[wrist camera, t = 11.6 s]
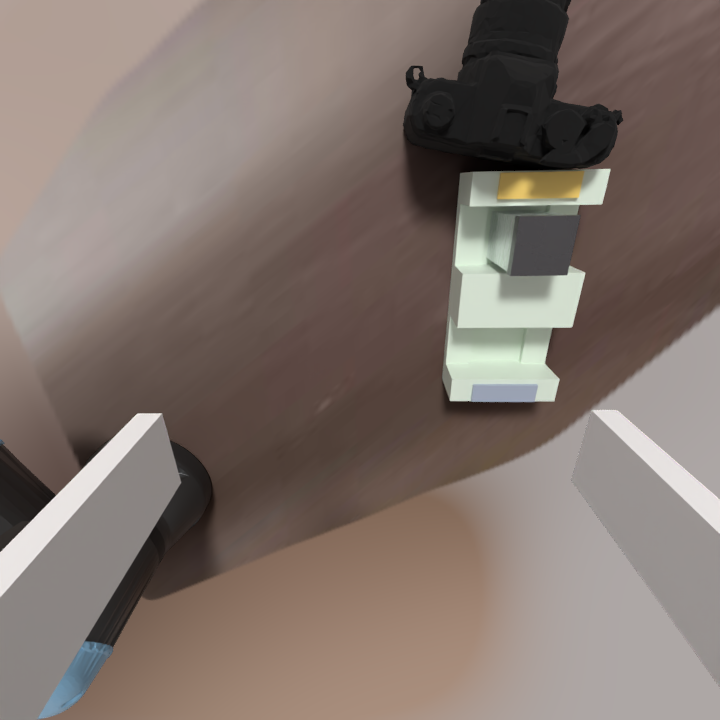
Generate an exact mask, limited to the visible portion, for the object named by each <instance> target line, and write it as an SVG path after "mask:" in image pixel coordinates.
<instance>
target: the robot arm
mask: <svg viewBox="0 0 720 720" xmlns="http://www.w3.org/2000/svg"><path fill="white" fill-rule="evenodd" d="M3 444H4V442H3V441H2V440H1V439H0V720H37V719H42V718H47V717H51V716H54V715H57V714H59V713H61V712H63V711H65V710H67V709H68V708H70V707H71V706H72V705H74V704H75V703H76V702H77V701H78V700H79V699H80V698H81V697H82V696H83V695H84V694H85V692H86V691H87V689H88V687H89V686H90V684H91V683H92V681H93V680H94V678H95V676H96V675H97V673H98V672H99V670H100V669H101V667H102V666H103V664H104V662H105V661H106V659H107V658H109V657H110V655H111V654H112V652H113V646H114V645H115V643H116V641H117V639H118V637H119V635H120V634H121V632H122V630H123V628H124V627H125V625H126V623H127V621H128V619H129V618H130V616H131V614H132V612H133V610H134V608H135V607H136V605H137V603H138V601H139V599H140V598H141V596H142V594H143V592H144V590H145V589H146V587H147V585H148V583H149V581H150V580H151V578H152V576H153V574H154V572H155V571H156V569H157V567H158V565H159V563H160V562H161V560H162V558H163V556H164V554H165V553H166V552H167V551H168V550H169V549H170V548H171V547H172V546H173V545H174V544H175V543H176V542H177V541H178V540H179V539H180V538H181V537H182V536H183V535H184V534H185V533H186V532H187V531H188V530H189V529H190V528H191V527H193V526H194V525H195V524H196V523H197V522H198V521H199V519H200V518H201V517H202V515H203V513H204V511H205V509H206V507H207V505H208V503H209V501H210V498H211V492H212V488H211V482H210V478H209V476H208V474H207V472H206V470H205V468H204V467H203V466H202V464H201V463H200V462H199V461H198V460H197V459H196V458H195V457H194V456H193V455H192V454H191V453H190V452H188V451H187V450H186V449H184V448H183V447H181V446H179V445H178V444H176V443H174V442H172V441H170V440H169V437H168V433H167V429H166V426H165V422H164V418H163V415H162V413H159V414H136V415H135V416H134V417H133V418H132V419H131V421H130V422H129V423H128V424H127V425H126V426H125V427H124V428H123V429H122V430H121V431H120V432H119V433H118V434H117V435H116V436H115V437H114V438H112V439H111V440H109V441H107V442H106V443H104V444H103V445H102V446H101V447H100V448H99V449H98V450H97V451H96V452H95V453H94V454H93V455H92V456H91V457H90V458H89V460H88V461H87V462H86V464H85V466H84V468H83V469H82V470H81V471H80V472H79V473H78V474H77V475H76V476H75V477H74V478H73V479H72V480H71V481H70V482H69V483H68V484H67V485H66V486H65V488H63V489H62V490H61V491H60V492H59V493H58V494H57V495H55V494H54V493H53V492H52V491H51V490H50V489H49V488H48V487H46V486H45V485H44V484H43V483H42V482H41V481H40V480H39V479H38V478H37V477H36V476H34V474H33V473H32V472H31V471H30V470H29V469H27V468H26V467H25V466H24V465H23V464H22V463H21V462H20V461H19V460H18V459H17V458H16V457H15V456H14V455H13V454H12V453H11V452H10V451H9V450H8V449H7V448H6V447H5V446H4V445H3ZM571 481H572V482H573V483H574V485H575V486H576V487H577V489H578V490H579V492H580V493H581V495H582V496H583V497H584V499H585V500H586V502H587V503H588V504H589V506H590V507H591V508H592V510H593V511H594V513H595V514H596V516H597V517H598V518H599V520H600V521H601V523H602V524H603V525H604V526H605V528H606V529H607V531H608V532H609V534H610V535H611V536H612V538H613V539H614V541H615V542H616V543H617V545H618V546H619V548H620V549H621V550H622V552H623V553H624V555H625V556H626V557H627V559H628V560H629V562H630V563H631V564H632V566H633V567H634V569H635V570H636V571H637V573H638V574H639V576H640V577H641V578H642V580H643V581H644V582H645V584H646V585H647V587H648V588H649V589H650V591H651V592H652V594H653V595H654V596H655V598H656V599H657V600H658V602H659V603H660V605H661V606H662V608H663V609H664V610H665V612H666V613H667V614H668V616H669V617H670V618H671V620H672V621H673V623H674V624H675V626H676V627H677V628H678V630H679V631H680V633H681V634H682V635H683V637H684V638H685V640H686V641H687V642H688V644H689V645H690V647H691V648H692V649H693V651H694V652H695V654H696V655H697V656H698V658H699V659H700V661H701V662H702V663H703V665H704V666H705V667H706V669H707V670H708V672H709V673H710V674H711V676H712V677H713V679H714V680H715V681H716V683H717V684H718V686H719V687H720V499H718V498H717V497H716V496H715V495H714V494H713V493H712V492H711V491H709V490H708V489H707V488H706V487H705V486H704V485H703V484H701V483H700V482H699V481H698V480H697V479H696V478H694V477H693V476H692V475H691V474H690V473H689V472H687V471H686V470H685V469H684V468H683V467H682V466H681V465H680V464H678V463H677V462H676V461H675V460H674V459H672V457H670V456H669V455H668V454H667V453H666V452H665V451H663V450H662V449H661V448H660V447H659V446H658V445H656V444H655V443H654V442H653V441H652V440H651V439H650V438H648V437H647V436H646V435H645V434H644V433H643V432H642V431H640V430H639V429H638V428H637V427H636V426H635V425H633V424H632V423H631V422H630V421H629V420H628V419H627V418H625V417H624V416H623V415H622V414H621V413H620V412H619V411H617V410H591V414H590V417H589V421H588V424H587V427H586V431H585V435H584V438H583V441H582V444H581V448H580V451H579V455H578V458H577V461H576V465H575V468H574V471H573V475H572V478H571Z"/></svg>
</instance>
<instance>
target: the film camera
mask: <svg viewBox="0 0 720 720" xmlns="http://www.w3.org/2000/svg"><path fill="white" fill-rule="evenodd" d="M570 2H571V0H481V4H480V6H478V7H477V9H476V11H475V13H474V15H473V20H472V25H471V31H470V36H469V40H468V46H467V47H466V48H465V50H464V53H463V58H462V64H463V68H462V70H461V71H460V72H459V73H458V79H457V81H455V80H447V79H444V78H437V79H432V78H430V79H427V78H425V77H424V72H423V66H411V67H410V68H409V70H408V71H407V72H406V82H407V86H408V87H409V88H410V89H411V90H412V95H411V100H410V103H409V105H408V107H407V110H406V111H405V116H404V123H403V126H404V129H405V132H406V136H407V139H408V140H409V141H410V142H411V143H412V144H413V145H416V146H421V147H424V148H427V149H433V150H438V151H442V152H447V153H455V154H461V155H465V156H471V157H476V158H480V159H485V160H495V161H498V162H503V163H508V164H513V165H518V166H523V167H534V168H541V169H547V170H557V169H568V168H578V169H581V168H587V167H590V166H593V165H596V164H599V163H601V162H602V161H603V160H604V159H605V158H607V157H608V156H609V154H610V152H611V150H612V148H613V147H614V145H615V141H616V137H617V133H618V130H617V125H619V124H620V123H621V122H622V121H623V118H622V115H621V114H622V112H621V110H620V111H617V110H614V111H613V112H611V111H608V108H606V107H604V106H603V105H600V104H596V105H594V106H590V107H586V106H580V105H574V104H568V103H563V102H560V101H557V100H554V99H553V97H554V95H555V93H556V89H557V84H556V82H557V78H558V73H559V70H558V66H557V63H558V59H557V55H558V51H559V49H560V46H561V43H562V41H563V38H564V35H565V31H566V28H567V24H568V20H569V18H568V15H567V13H566V12H567V9H568V6H569V5H570ZM414 68H419V69H420V71H421V72H420V73H419V79H418V80H414V77H413V69H414Z"/></svg>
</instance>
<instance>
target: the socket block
mask: <svg viewBox="0 0 720 720" xmlns="http://www.w3.org/2000/svg"><path fill="white" fill-rule="evenodd" d="M610 170H611V169H584V170H535V171H487V172H465V173H460V181H459V192H458V204H457V215H456V226H455V238H454V249H453V261H452V272H451V283H450V295H449V306H448V317H447V329H446V340H445V352H444V363H443V374H442V380H443V383H444V385H445V388H446V391H447V394H448V397H449V400H450V401H471V402H535V401H554V400H555V396H556V392H557V388H558V384H559V378H558V377H557V376H556V375H555V374H554V373H553V372H552V371H551V370H550V369H549V368H548V367H547V366H546V365H545V359H546V354H547V350H548V345H549V341H550V336H551V332H552V328H561V327H572V326H573V322H574V318H575V314H576V309H577V305H578V301H579V297H580V293H581V289H582V285H583V281H584V277H585V272H583V271H580V270H578V269H576V268H574V267H571V266H569V270H568V274H567V275H561V276H509V275H508V274H507V271H506V270H504V269H503V268H501V267H500V266H498V265H497V264H495V263H494V262H492V261H491V260H489V259H488V258H486V257H487V249H488V241H489V233H490V225H491V217H492V211H509V210H542V211H548V212H553V213H559V214H565V215H572V214H575V215H577V213H578V208H579V205H590V204H602V203H603V198H604V194H605V190H606V186H607V182H608V178H609V174H610Z"/></svg>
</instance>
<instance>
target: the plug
mask: <svg viewBox="0 0 720 720" xmlns="http://www.w3.org/2000/svg"><path fill="white" fill-rule="evenodd" d="M580 216H581V215H575V214H572V215H565V214H559V213H553V212H548V211H542V210H509V211H492V217H491V225H490V233H489V241H488V249H487V257H486V258H488V259H489V260H491V261H492V262H494V263H495V264H497V265H498V266H500V267H501V268H503V269H504V270H506V271H507V274H508V275H509V276H561V275H567V274H568V270H569V265H570V261H571V256H572V252H573V247H574V243H575V238H576V234H577V229H578V225H579V220H580Z"/></svg>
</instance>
